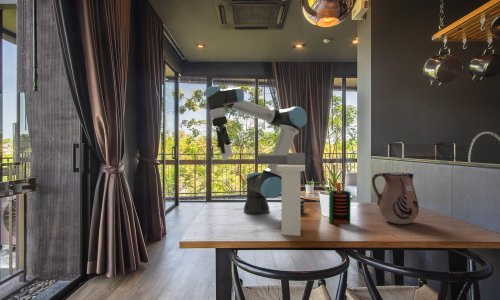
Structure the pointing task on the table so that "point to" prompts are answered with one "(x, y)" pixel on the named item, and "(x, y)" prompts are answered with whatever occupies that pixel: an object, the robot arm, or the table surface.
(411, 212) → the ceramic pitcher
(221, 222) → the table surface
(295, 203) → the stand
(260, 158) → the bar
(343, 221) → the motor
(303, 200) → the jar
